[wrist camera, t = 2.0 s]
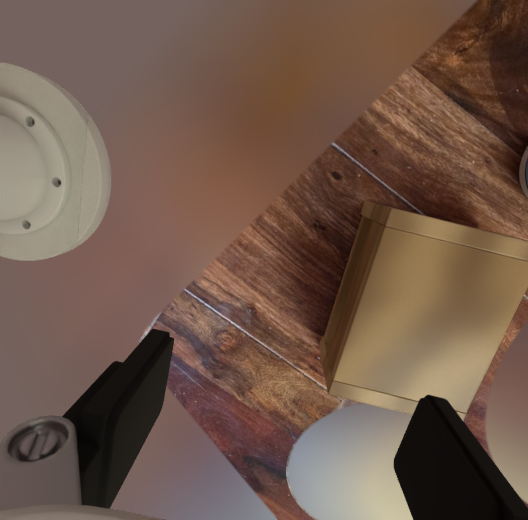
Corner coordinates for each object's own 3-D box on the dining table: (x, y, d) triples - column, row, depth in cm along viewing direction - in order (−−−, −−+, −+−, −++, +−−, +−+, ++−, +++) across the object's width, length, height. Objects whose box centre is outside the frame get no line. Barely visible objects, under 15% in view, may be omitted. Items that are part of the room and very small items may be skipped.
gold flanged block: (318, 345, 30) (328, 394, 23) (364, 200, 26) (391, 207, 20) (420, 370, 30) (460, 427, 23) (480, 228, 26) (548, 245, 19)
